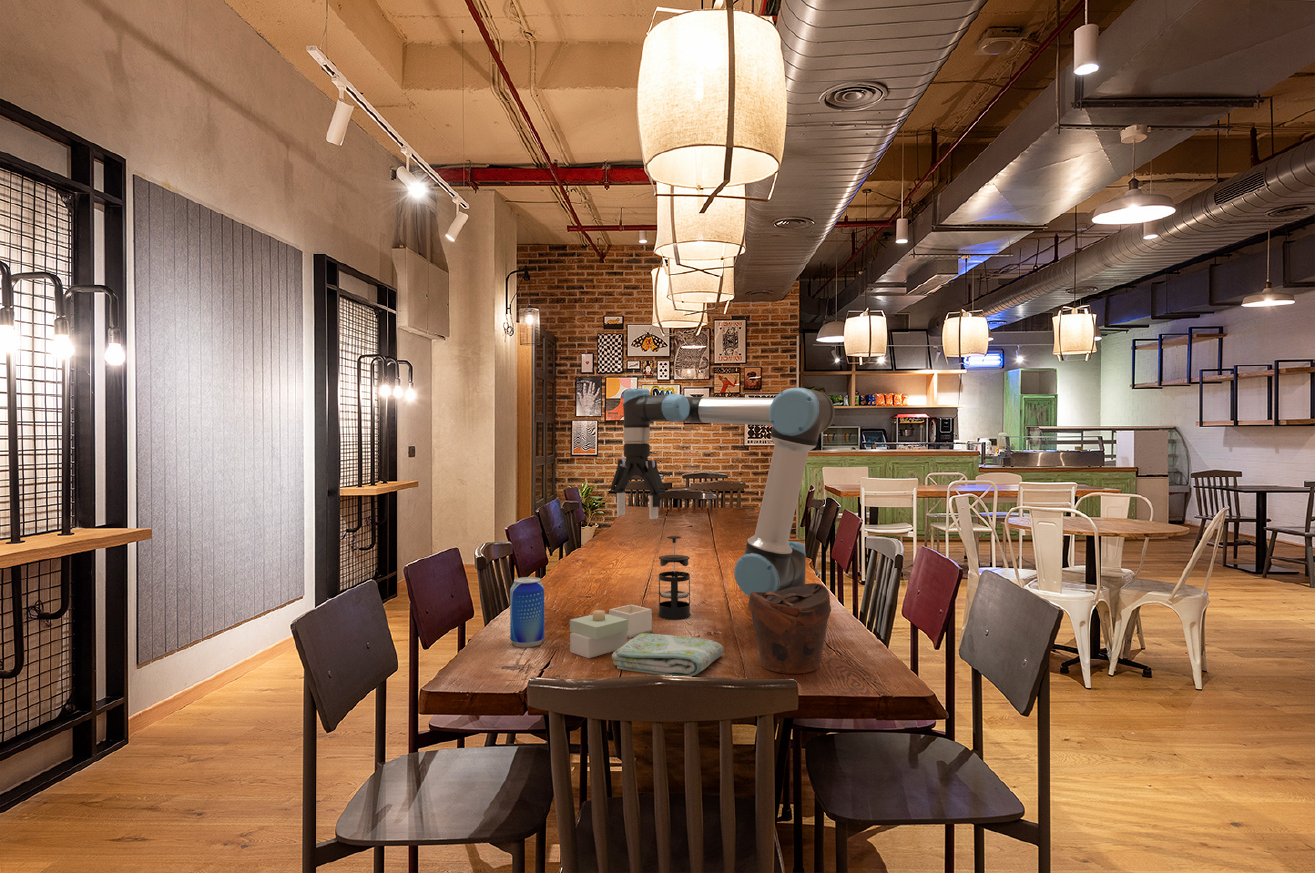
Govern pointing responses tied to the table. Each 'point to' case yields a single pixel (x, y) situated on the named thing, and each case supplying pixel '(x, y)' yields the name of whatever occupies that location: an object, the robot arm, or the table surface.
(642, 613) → the open white box
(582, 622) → the lid
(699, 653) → the towel
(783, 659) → the brown tapered bucket
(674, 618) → the french press
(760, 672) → the table surface
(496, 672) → the table surface
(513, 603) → the beer can
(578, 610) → the table surface
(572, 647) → the block
